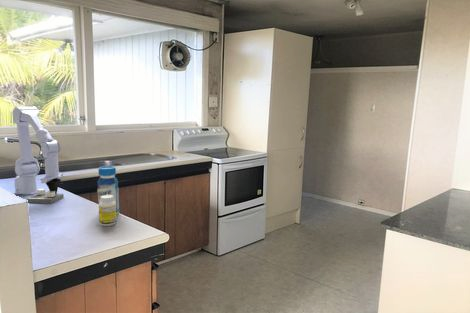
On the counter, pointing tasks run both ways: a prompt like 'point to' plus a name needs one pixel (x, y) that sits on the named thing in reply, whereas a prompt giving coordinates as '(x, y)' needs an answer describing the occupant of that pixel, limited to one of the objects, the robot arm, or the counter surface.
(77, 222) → the counter surface
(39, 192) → the switch tab
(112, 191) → the beverage bottle
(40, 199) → the switch panel
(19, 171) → the robot arm
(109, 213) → the pill bottle
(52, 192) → the switch tab
